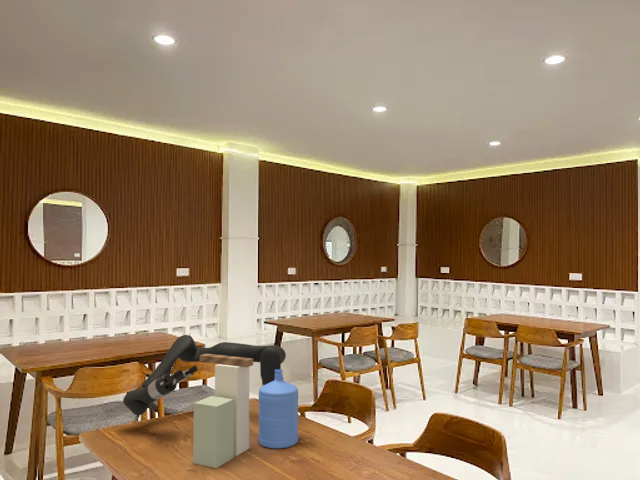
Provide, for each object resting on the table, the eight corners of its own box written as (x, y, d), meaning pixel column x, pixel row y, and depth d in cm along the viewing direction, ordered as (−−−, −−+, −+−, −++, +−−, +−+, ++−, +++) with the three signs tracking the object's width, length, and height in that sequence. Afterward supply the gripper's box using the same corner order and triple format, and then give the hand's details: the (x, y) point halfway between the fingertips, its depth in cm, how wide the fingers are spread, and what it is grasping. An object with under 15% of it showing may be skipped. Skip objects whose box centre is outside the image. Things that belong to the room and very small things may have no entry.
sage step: (193, 463, 180) (193, 402, 180) (211, 453, 189) (211, 395, 189) (216, 468, 175) (216, 406, 176) (233, 457, 184) (233, 399, 185)
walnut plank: (199, 361, 197) (199, 355, 197) (206, 359, 201) (206, 353, 201) (247, 367, 188) (247, 360, 188) (253, 365, 191) (253, 358, 191)
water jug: (292, 450, 191) (292, 375, 192) (252, 447, 194) (253, 373, 195) (302, 436, 206) (302, 366, 207) (265, 433, 210) (265, 365, 210)
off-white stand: (214, 451, 191) (215, 365, 191) (227, 444, 198) (227, 361, 199) (236, 455, 186) (237, 367, 187) (249, 448, 193) (249, 363, 194)
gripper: (145, 382, 202) (173, 364, 196) (170, 374, 215) (197, 357, 209) (152, 399, 200) (180, 382, 194) (177, 391, 213) (204, 374, 207)
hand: (189, 369), depth 202 cm, fingers open, 8 cm apart
